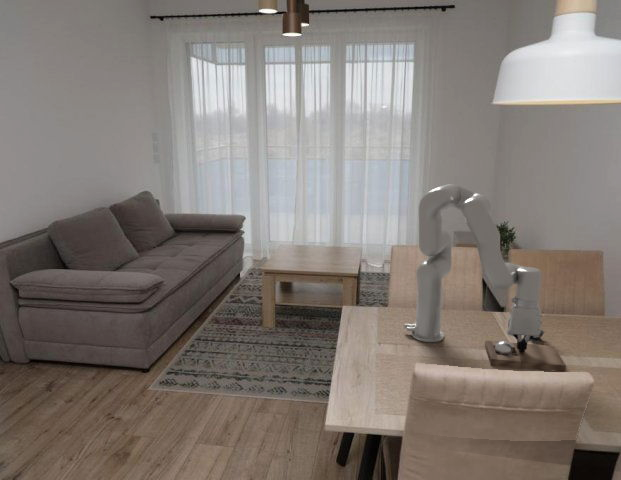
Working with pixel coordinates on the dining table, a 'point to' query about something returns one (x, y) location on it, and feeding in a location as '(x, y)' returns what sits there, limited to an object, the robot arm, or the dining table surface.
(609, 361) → the dining table surface
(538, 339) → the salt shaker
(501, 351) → the ball
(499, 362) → the board
